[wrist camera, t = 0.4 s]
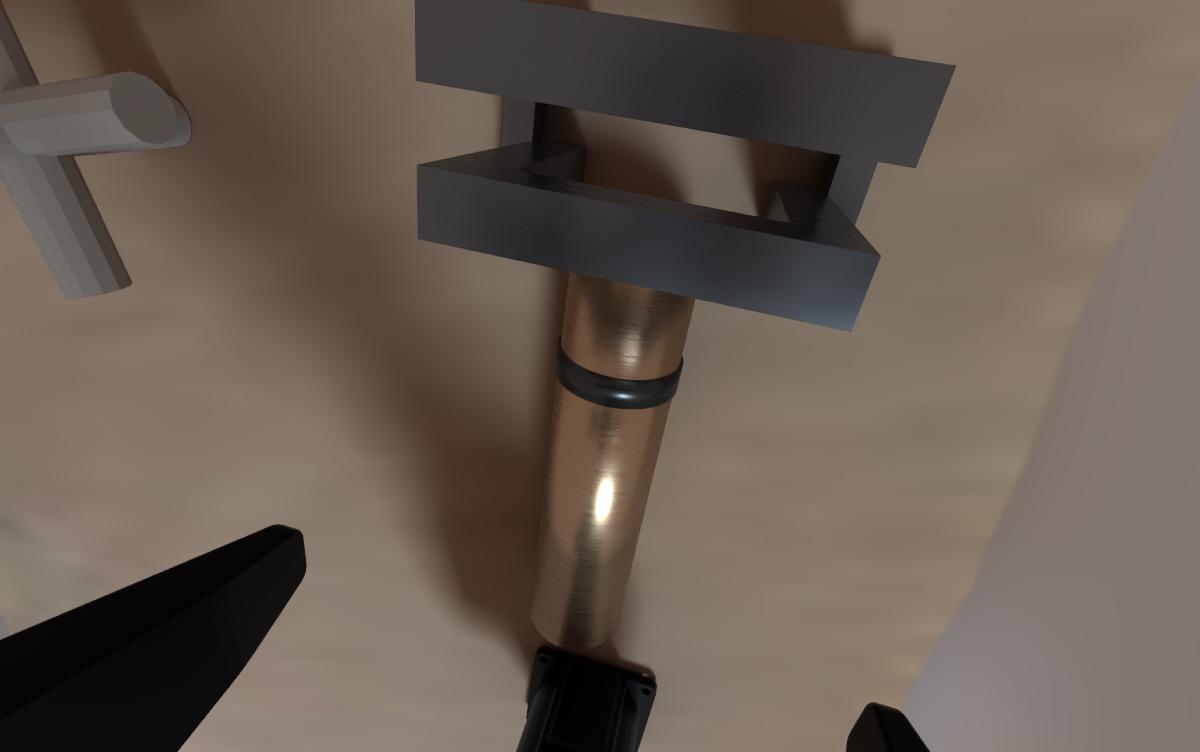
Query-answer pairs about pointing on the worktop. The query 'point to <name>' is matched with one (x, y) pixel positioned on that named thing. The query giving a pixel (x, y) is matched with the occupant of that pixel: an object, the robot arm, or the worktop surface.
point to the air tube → (602, 451)
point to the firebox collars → (679, 98)
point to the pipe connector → (46, 157)
